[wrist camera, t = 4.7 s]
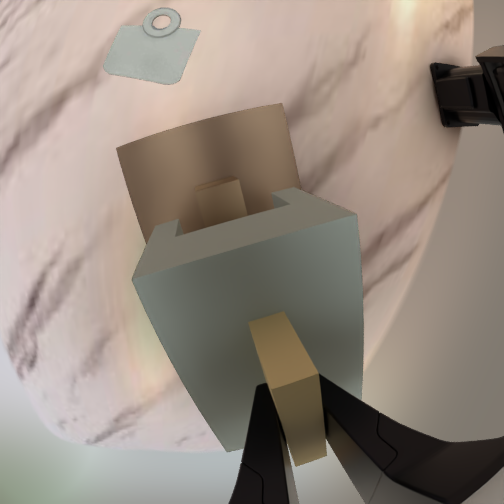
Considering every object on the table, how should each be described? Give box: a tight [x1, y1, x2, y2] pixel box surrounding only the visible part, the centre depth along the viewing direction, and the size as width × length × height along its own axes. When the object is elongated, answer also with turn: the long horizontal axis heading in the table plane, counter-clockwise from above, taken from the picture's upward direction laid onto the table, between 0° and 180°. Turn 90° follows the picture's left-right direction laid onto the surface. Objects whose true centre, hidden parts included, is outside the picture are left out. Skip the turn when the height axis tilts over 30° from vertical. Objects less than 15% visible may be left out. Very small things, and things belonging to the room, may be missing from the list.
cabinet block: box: [132, 187, 364, 466], centre depth 11 cm, size 7×10×9 cm
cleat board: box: [116, 103, 301, 244], centre depth 20 cm, size 11×20×4 cm, turn 14°
